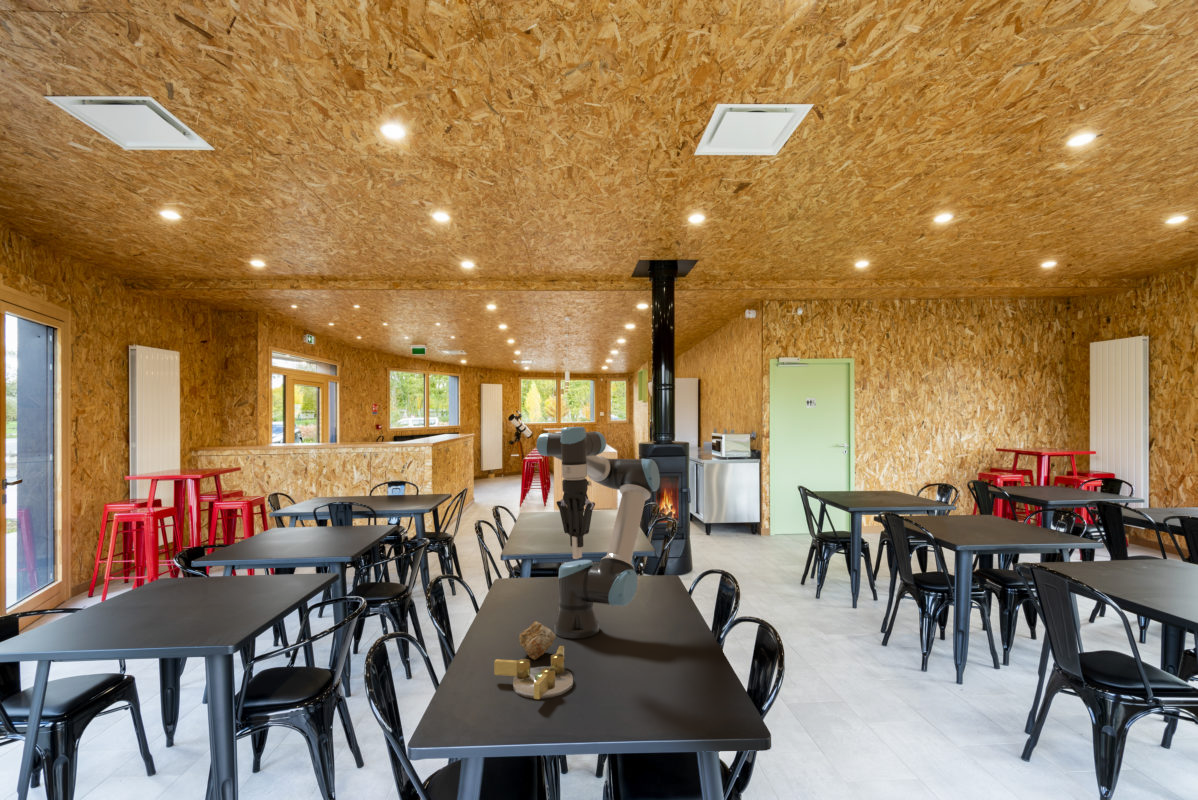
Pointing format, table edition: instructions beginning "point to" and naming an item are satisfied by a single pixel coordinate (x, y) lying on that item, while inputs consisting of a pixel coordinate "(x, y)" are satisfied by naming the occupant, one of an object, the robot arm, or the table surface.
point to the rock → (536, 640)
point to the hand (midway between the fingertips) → (577, 557)
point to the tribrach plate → (561, 686)
